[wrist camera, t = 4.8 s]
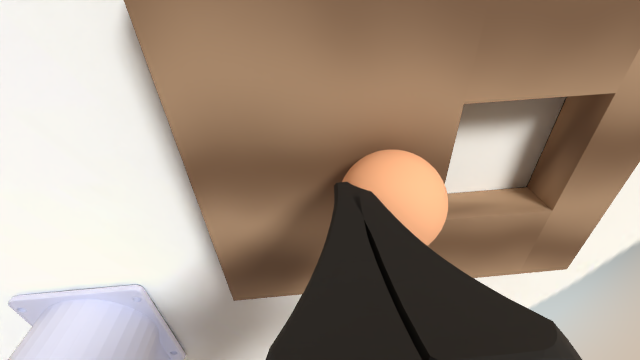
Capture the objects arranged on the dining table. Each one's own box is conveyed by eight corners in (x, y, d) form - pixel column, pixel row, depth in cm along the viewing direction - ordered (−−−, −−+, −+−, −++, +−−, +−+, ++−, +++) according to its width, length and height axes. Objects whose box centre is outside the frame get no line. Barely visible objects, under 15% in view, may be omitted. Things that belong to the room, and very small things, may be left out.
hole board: (543, 244, 19) (566, 269, 18) (238, 272, 19) (233, 300, 17) (723, -74, 10) (805, -83, 9) (138, -43, 10) (106, -47, 8)
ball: (329, 219, 14) (408, 201, 14) (360, 292, 10) (461, 264, 11) (322, 142, 11) (417, 124, 12) (358, 205, 8) (486, 175, 9)
